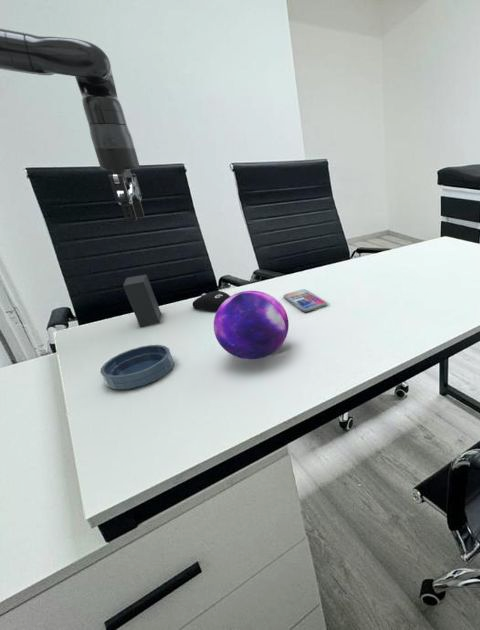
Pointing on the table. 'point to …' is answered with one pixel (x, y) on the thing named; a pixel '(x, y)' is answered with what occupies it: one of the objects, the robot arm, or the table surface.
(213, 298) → the computer mouse
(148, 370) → the bowl
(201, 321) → the table surface
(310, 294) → the smartphone
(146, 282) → the dark grey upright block
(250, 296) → the decorative orb
